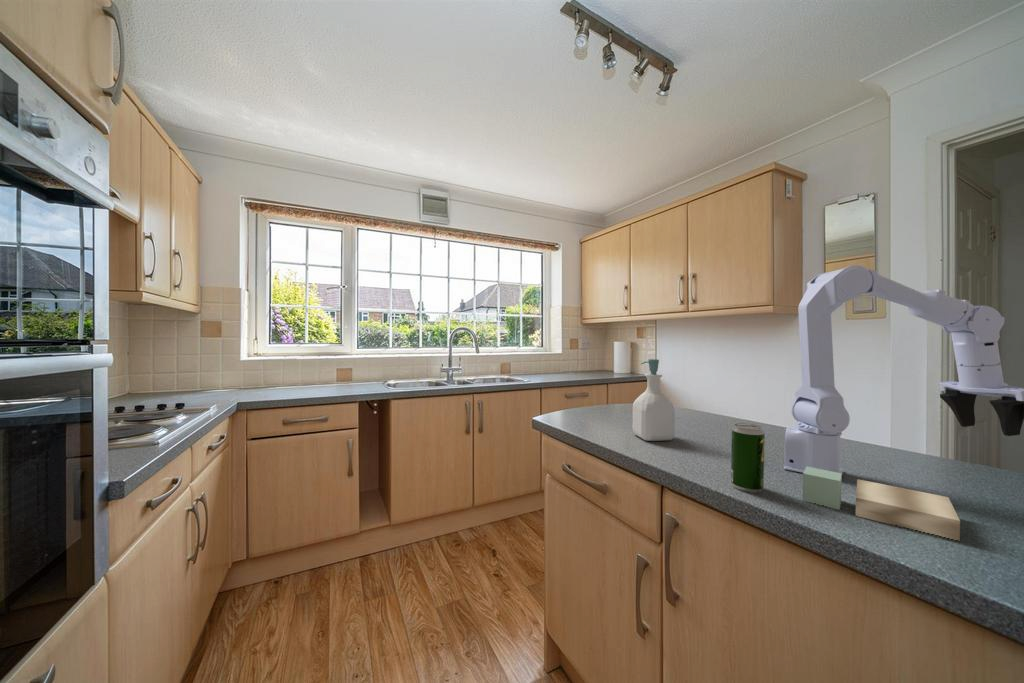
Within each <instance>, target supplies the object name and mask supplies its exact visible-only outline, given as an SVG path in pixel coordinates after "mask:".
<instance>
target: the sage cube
mask: <svg viewBox="0 0 1024 683" xmlns="http://www.w3.org/2000/svg"><path fill="white" fill-rule="evenodd" d="M842 476H843V473H837V472H832V471H827V470H822V469H817V468H812V467H807V466H806V468H805V470H804V472H803V473H802V501H803V502H806V501H807V502H806V503H810V502H811V504H814V503H816V504H815V505H818V504H819V506H822V505H824V506H823V507H826V506H827V508H830V507H831V508H830V509H835V510H839V511H840V509H841V504H842V487H843V486H842V485H843V484H842V482H843V480H842V479H843V478H842Z"/></svg>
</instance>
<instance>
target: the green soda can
mask: <svg viewBox="0 0 1024 683" xmlns="http://www.w3.org/2000/svg"><path fill="white" fill-rule="evenodd" d="M765 438H766V437H765V431H764V427H763V426H760V425H758V424H753V423H746V422H745V423H744V422H742V423H741V422H737V423H736V422H735V423H733V424H732V428H731V448H730V450H731V452H730V455H731V456H730V458H731V459H730V463H731V464H730V466H731V467H730V483H731V485H732V487H733V488H735V489H737V490H739V491H741V492H745V493H752V494H754V493H755V494H759V493H761V492H762V491H763V489H764V487H765V485H764V484H765V441H766V440H765Z"/></svg>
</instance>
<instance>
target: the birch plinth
mask: <svg viewBox="0 0 1024 683" xmlns="http://www.w3.org/2000/svg"><path fill="white" fill-rule="evenodd" d="M855 492H856V493H855V517H859V518H860V517H861V518H864V519H868V520H872V521H876V522H878V523H879V522H880V523H883V524H884V523H885V524H888V525H891V524H892V525H891V526H895V525H898V526H897V527H899V526H902V527H901V528H903V527H906V528H905V529H907V528H910V529H909V530H911V529H914V530H913V531H915V530H918V531H917V532H919V531H921V532H920V533H923V532H925V533H924V534H927V533H930V534H929V535H931V534H935V535H939V536H942V537H941V538H943V537H946V538H945V539H947V538H950V539H949V540H951V539H954V540H953V541H955V540H959V541H960V542H961V540H960V539H961V538H960V537H961V520H960V518H959V516H958V514H957V512H956V510H955V507H954V506H953V503H952V502H951V500H950V498H949V497H948V496H944V495H940V494H939V495H938V494H934V493H929V492H924V491H918V490H915V489H910V488H909V489H908V488H905V487H904V488H903V487H899V486H894V485H888V484H884V483H879V482H873V481H870V480H869V481H867V480H864V479H858V478H857V480H856V491H855ZM935 535H934V536H935ZM939 536H938V537H939ZM959 541H958V542H959Z"/></svg>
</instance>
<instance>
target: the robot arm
mask: <svg viewBox="0 0 1024 683" xmlns="http://www.w3.org/2000/svg"><path fill="white" fill-rule="evenodd" d="M863 295H870V296H872V297H876V298H879V299H882V300H886V301H889V302H891V303H895V304H898V305H900V306H904V307H907V308H908V312H909V314H910V315H912V316H915V317H917V318H920V319H922V320H925V321H928V322H931V323H934V324H936V325H938V326H940V328H941V330H942V331H944V332H945V333H946V334H951V339H952V345H953V354H954V359H955V364H956V366H955V367H956V370H957V376H958V381H952V380H947V381H940V382H939V383H938V384H939V389H940V390H939V391H940V392H944V393H940V394H939V398H940V399H942V400H943V402H944V403H945V404H947V405H948V407H949V408H950V409H951V411H952V413H953V414H954V415H955V417H956V419H957V421H958V423H959V425H960V427H962V428H963V427H964V428H965V427H974V426H975V424H976V415H975V403H976V399H977V396H978V395H980V396H986V397H993V398H995V397H996V398H998V399H991V400H989V403H990V405H991V406H992V407H993V409H994V411H995V413H996V415H997V418H998V419H999V420H998V421H999V423H1000V429H1001V432H1002V433H1003V435H1004V436H1007V437H1012V436H1020V434H1021V431H1022V427H1023V423H1024V388H1022V387H1017V386H1013V385H1009V384H1008V383H1006V382H1005V381H1004V375H1003V369H1002V362H1001V356H1000V350H999V344H998V342H999V339H1000V338H1001V336H1000V335H1001V334H1000V332H1001V329H1002V328H1003V326H1004V324H1005V321H1006V320H1005V318H1006V317H1004V316H1002V315H1001V313H1000V311H998V310H997V309H995V308H993V307H992V306H988V305H973V304H972V303H971V302H970V300H968V299H958V298H956V297H953V296H950V295H948V294H946V291H945V290H943V289H933V290H932V289H930V290H929V289H928V290H924V291H922V292H921V291H919V290H915V289H914V288H912V287H909V286H907V285H904V284H901V283H900V282H897V281H895V280H892V279H890V278H888V277H886V276H884V275H882V274H881V275H880V273H878V272H877V271H876V270H875V269H871V268H866V267H864V266H861V265H857V264H856V265H849V266H845V267H844V268H840V269H836V270H833V271H826V272H822V273H819V274H817V275H816V276H815V277H814V278H812V279H811V280H810V281H808V282H807V283H806V291H805V293H804V294H803V297H802V298H801V300H800V302H799V304H798V310H797V313H798V327H799V329H798V330H799V332H798V333H799V346H800V347H799V349H800V366H801V367H800V368H801V383H802V384H801V386H800V387H799V388H798V389H797V390H796V391H795V393H794V397H795V398H794V400H793V404H791V409H790V410H791V415H792V418H793V419H794V420H795V421H796V422H797V423H796V425H797V426H796V427H792V426H787V427H786V429H785V434H784V435H785V436H784V455H783V458H784V462H783V463H784V466H783V469H785V470H786V471H792V472H798V473H802V474H803V472H804V470H805V468H806V466H807V467H812V468H817V469H822V470H827V471H832V472H837V473H842V474H844V473H843V472H844V470H843V468H841V436H842V435H843V433H842V432H844V431H845V430H846V429H847V428H848V427H849V424H850V414H849V412H848V410H847V408H846V407H845V404H844V398H843V396H842V394H841V392H839V391H838V389H837V388H836V386H835V370H834V369H835V368H834V348H833V331H832V330H833V326H832V314H833V313H834V312H835V311H836V310H837V309H839V307H841V306H842V305H843V304H845V303H847V302H849V301H851V300H854V299H856V298H858V297H860V296H863ZM999 398H1001V399H999Z"/></svg>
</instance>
